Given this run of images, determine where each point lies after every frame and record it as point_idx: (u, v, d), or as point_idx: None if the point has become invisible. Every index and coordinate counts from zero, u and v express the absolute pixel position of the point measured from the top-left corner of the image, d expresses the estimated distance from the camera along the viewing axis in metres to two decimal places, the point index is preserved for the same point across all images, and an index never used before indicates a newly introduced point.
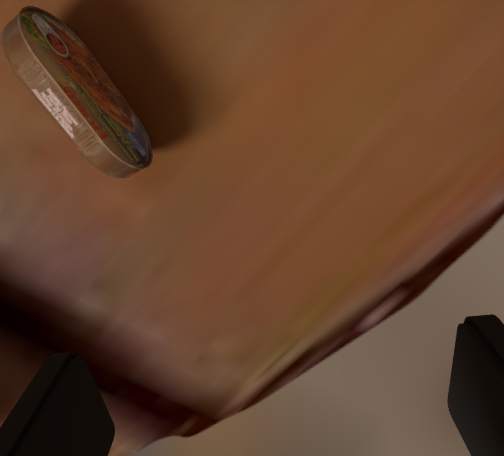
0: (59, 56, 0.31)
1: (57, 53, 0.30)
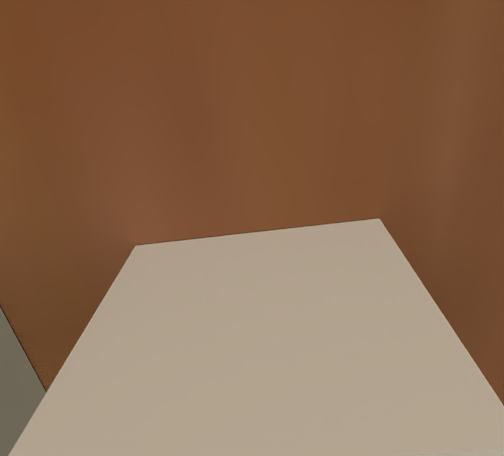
0: None
1: None
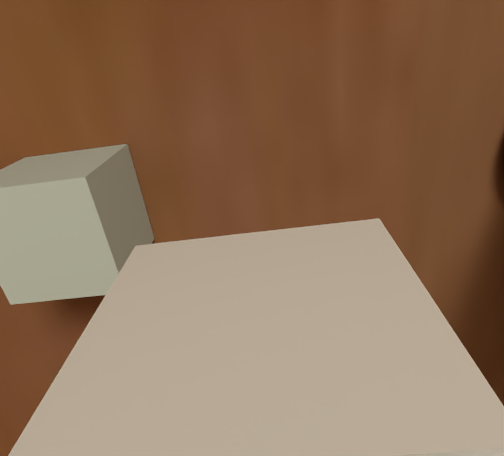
0: None
1: None
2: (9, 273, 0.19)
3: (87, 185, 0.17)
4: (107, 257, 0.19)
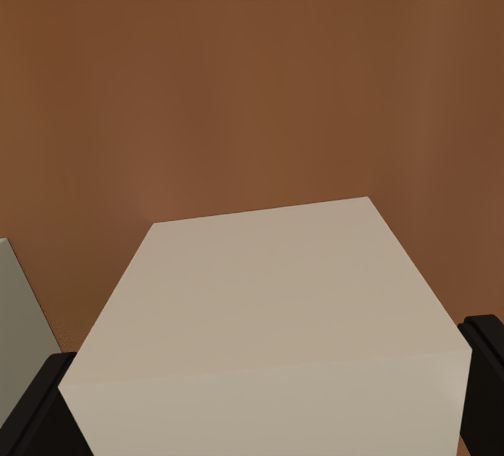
0: None
1: None
2: None
3: None
4: None
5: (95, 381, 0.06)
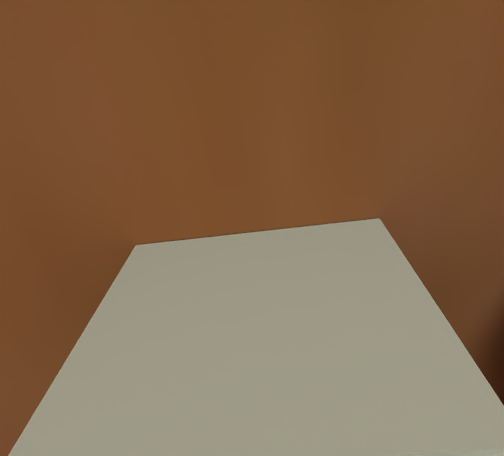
0: None
1: None
2: None
3: None
4: None
5: None
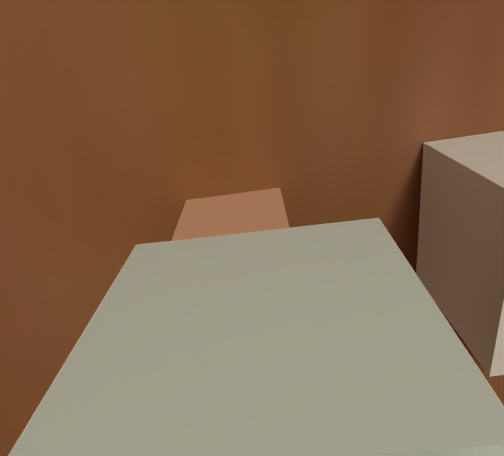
0: None
1: None
2: None
3: None
4: None
5: None
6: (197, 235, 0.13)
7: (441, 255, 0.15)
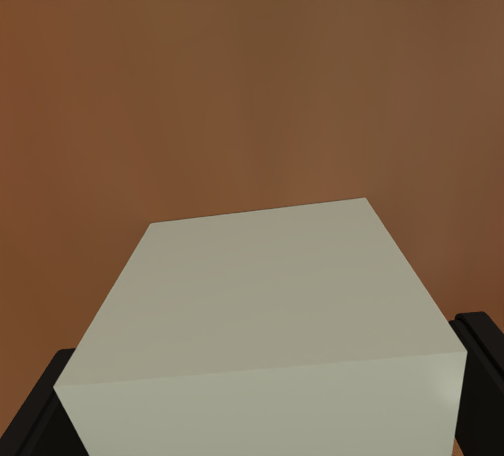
0: None
1: None
2: None
3: (462, 371, 0.06)
4: None
5: None
6: None
7: None
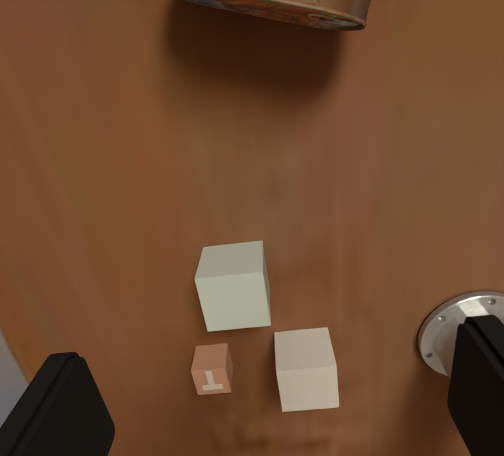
0: (311, 12, 0.26)
1: (314, 14, 0.26)
2: (211, 315, 0.37)
3: (263, 275, 0.35)
4: (265, 308, 0.36)
5: (281, 370, 0.40)
6: (199, 367, 0.44)
7: None
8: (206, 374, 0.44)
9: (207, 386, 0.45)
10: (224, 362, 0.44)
